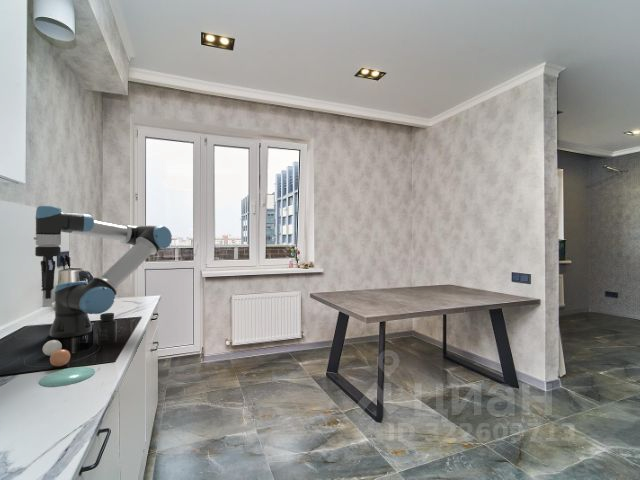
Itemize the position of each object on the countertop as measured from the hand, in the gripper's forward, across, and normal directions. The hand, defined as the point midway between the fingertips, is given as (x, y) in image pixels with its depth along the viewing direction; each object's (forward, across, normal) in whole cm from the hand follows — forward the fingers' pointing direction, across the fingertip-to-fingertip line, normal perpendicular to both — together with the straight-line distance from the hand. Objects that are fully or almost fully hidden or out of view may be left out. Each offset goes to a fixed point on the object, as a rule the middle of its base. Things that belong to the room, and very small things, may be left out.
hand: (47, 306), depth 127 cm
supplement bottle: (+17, +8, +18) cm, 26 cm away
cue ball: (+14, +10, 0) cm, 17 cm away
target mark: (+17, +36, 0) cm, 40 cm away
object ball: (+14, +24, 0) cm, 28 cm away
